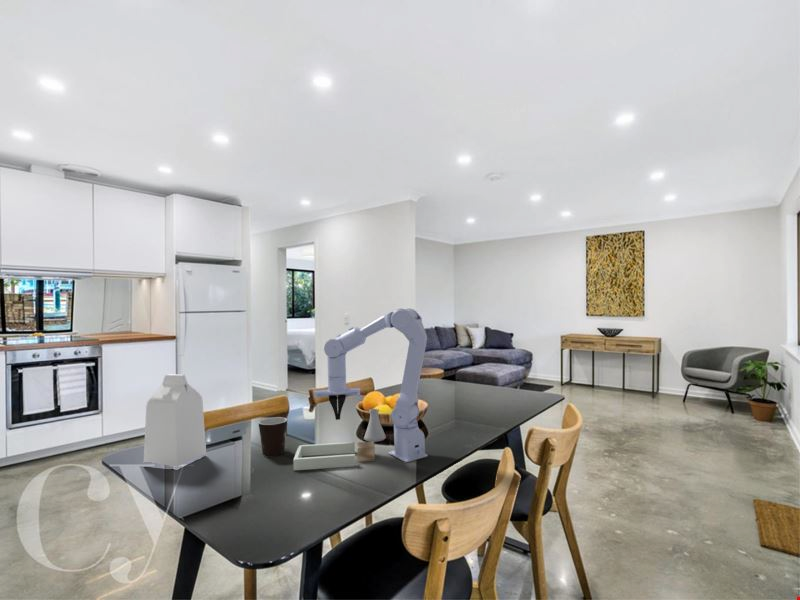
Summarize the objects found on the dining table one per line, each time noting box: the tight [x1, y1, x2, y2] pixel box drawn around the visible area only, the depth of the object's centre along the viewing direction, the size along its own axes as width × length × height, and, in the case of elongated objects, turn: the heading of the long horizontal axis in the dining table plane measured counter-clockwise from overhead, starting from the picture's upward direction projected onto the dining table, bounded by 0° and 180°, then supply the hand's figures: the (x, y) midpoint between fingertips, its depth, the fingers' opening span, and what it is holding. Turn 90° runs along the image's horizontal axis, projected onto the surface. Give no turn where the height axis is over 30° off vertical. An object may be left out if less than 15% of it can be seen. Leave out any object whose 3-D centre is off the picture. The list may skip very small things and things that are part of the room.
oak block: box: [356, 441, 376, 462], centre depth 121 cm, size 5×5×4 cm
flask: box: [363, 408, 387, 443], centre depth 138 cm, size 7×7×10 cm
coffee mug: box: [258, 416, 288, 457], centre depth 128 cm, size 12×9×10 cm
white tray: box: [292, 441, 356, 471], centre depth 119 cm, size 17×12×3 cm
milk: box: [143, 373, 207, 466], centre depth 122 cm, size 12×12×26 cm
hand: (337, 418), depth 130 cm, fingers closed
